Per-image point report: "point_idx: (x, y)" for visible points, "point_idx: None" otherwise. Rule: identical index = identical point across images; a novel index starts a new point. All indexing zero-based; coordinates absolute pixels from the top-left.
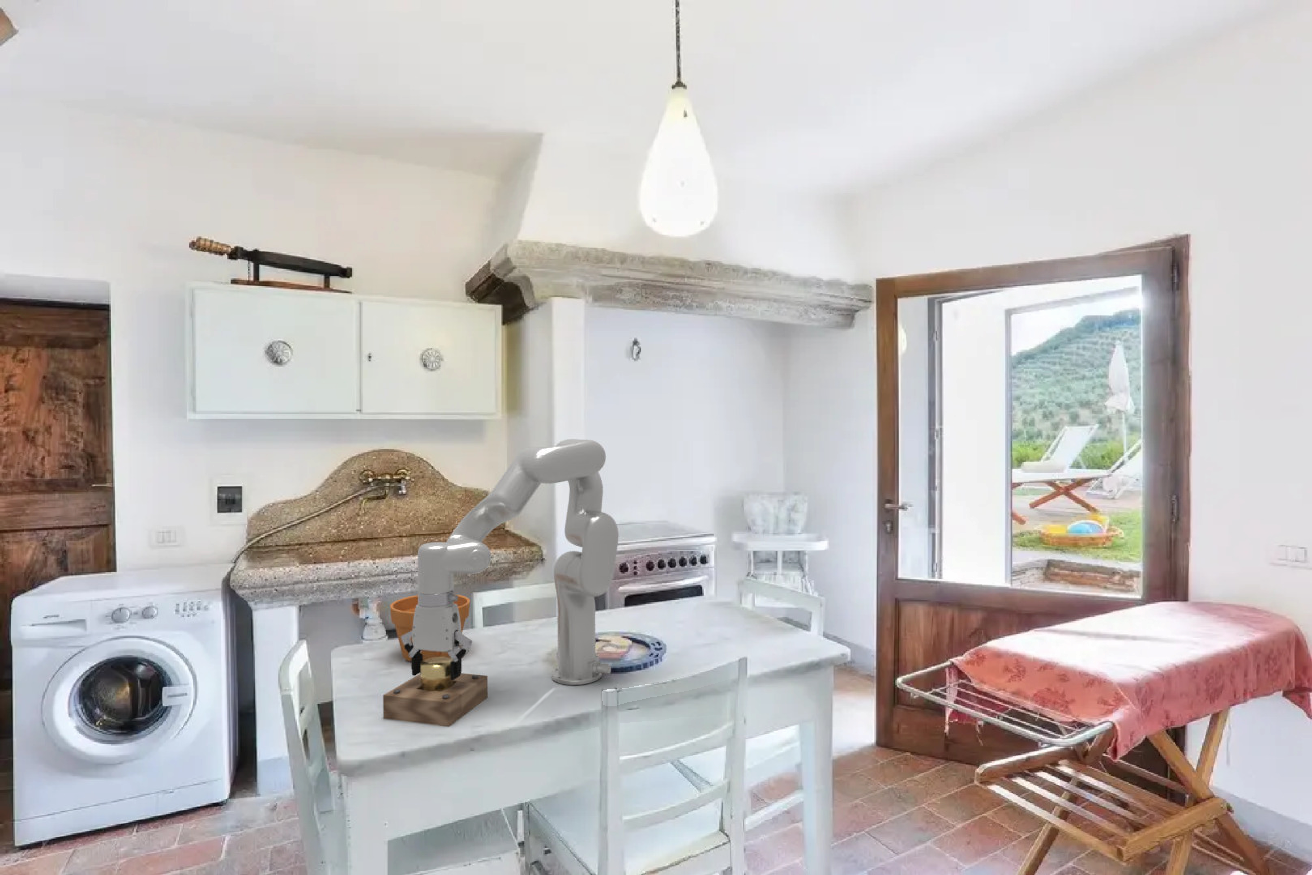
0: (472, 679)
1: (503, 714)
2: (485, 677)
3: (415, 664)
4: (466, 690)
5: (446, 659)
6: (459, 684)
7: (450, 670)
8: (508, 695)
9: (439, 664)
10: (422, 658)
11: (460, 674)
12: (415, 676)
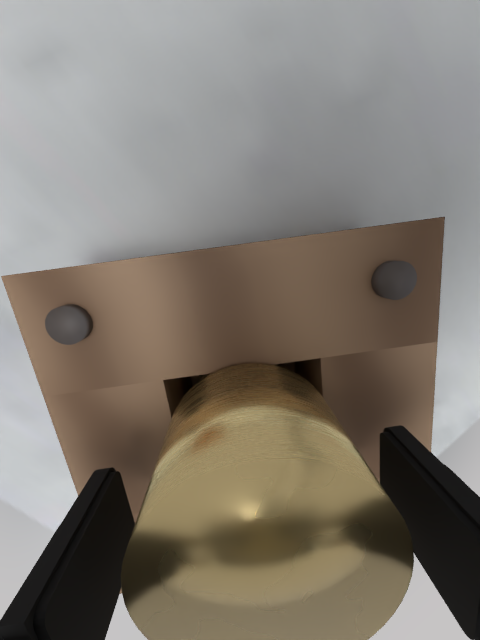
0: (385, 304)
1: (470, 307)
2: (441, 243)
3: (107, 620)
4: (431, 432)
5: (313, 510)
6: (356, 388)
7: (416, 555)
8: (413, 137)
9: (335, 611)
10: (69, 571)
11: (400, 425)
12: (42, 389)
